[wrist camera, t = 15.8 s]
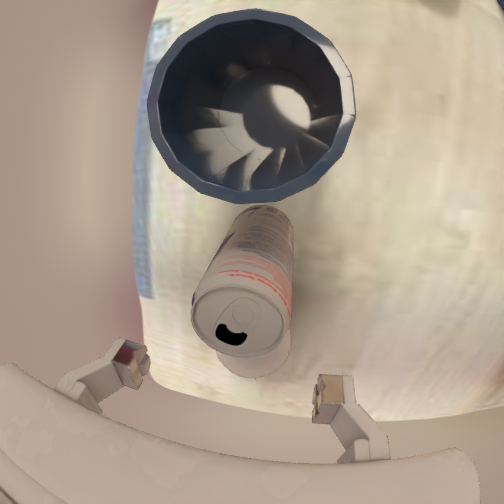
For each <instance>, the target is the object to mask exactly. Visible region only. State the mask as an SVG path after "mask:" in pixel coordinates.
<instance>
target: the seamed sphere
mask: <svg viewBox="0 0 504 504" xmlns="http://www.w3.org/2000/svg"><path fill="white" fill-rule="evenodd" d="M290 347H291V335H290V329H289V328H288V330H287V332H286V333H285V336H284V338H283V340H282V342H281V343H280V344H279V346H278V347H277V348H276V349H274V350H272V351H271V352H269V353H267V354H265V355H262V356H258V357H251V358H240V357H233V356H229V355H226V354H223V353H220V352H218V351H216V352H217V355H218V358H219V360H220V361H221V363H222V364H223V365H224V366H225V367H226V368H227V369H228V370H230V371H231V372H232V373H234V374H236V375H238V376H241V377H245V378H255V379H256V378H259V377H263V376H266V375H268V374H271V373H273V372H275V371H276V370H277V369H278V368H279V367H280V366H281V365H282V364H283V363H284V362H285V360H286V358H287V356H288V354H289V350H290Z"/></svg>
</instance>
